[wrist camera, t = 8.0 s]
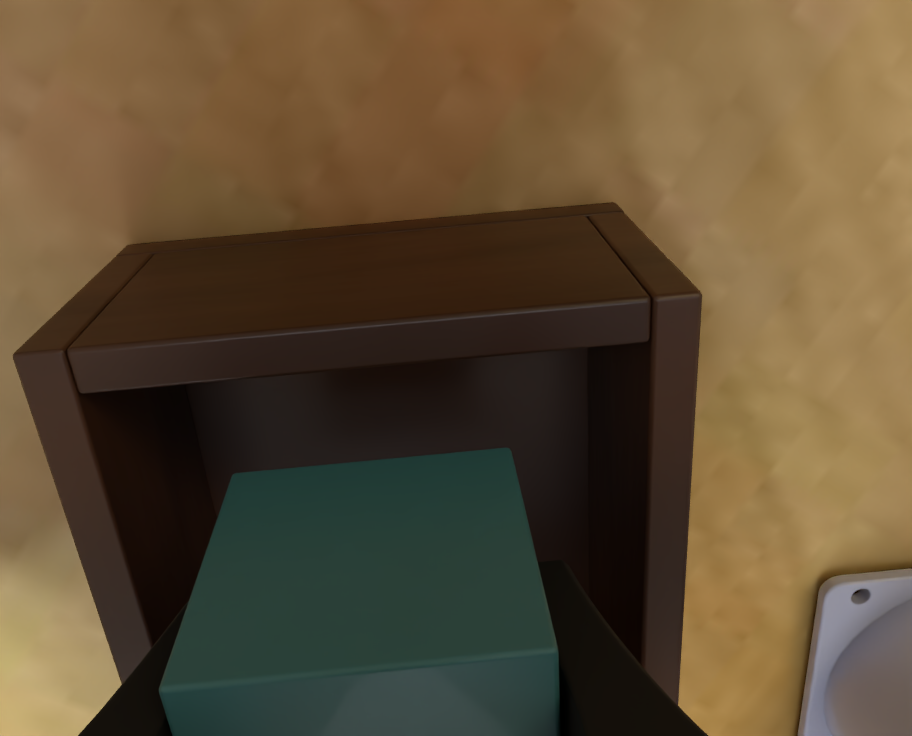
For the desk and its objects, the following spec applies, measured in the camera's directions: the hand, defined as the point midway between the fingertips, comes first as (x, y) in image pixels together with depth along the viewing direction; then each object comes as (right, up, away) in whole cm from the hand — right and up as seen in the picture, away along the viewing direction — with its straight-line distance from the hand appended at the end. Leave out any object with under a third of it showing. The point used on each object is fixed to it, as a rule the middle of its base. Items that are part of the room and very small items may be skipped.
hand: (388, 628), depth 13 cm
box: (0, +2, +8) cm, 8 cm away
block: (0, +1, +1) cm, 1 cm away
